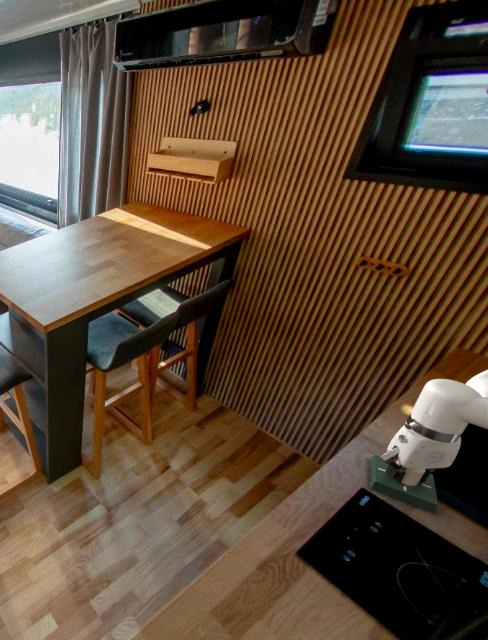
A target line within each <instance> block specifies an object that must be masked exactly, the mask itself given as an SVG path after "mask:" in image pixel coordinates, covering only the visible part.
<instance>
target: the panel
mask: <svg viewBox="0 0 488 640" xmlns="http://www.w3.org/2000/svg"><path fill="white" fill-rule="evenodd" d="M380 457H381V455H377V454H373V455H372V457H371V458H370V463H369V464H370V465H369V467H370V468H369V469H370V489H371V490H373V491H376V492H379V493H382V494H384V495H386V496H389V497H392V498H395V499H397V500H400V501H402V502H404V503H407V504H410V505H412V506H415V507H418V508H420V509H422V510H425V511H428V512H430V513H434V512H435V511H436V509H437V508H438V507H439V501H438V496H437V490H436V485H435V478H434V474H432V473H430V475H429V476H428V478H427V480H426V481H425V482H420V481H419V482H418V484H417V485H415V486H410V485H406V484H403V483H396V482H395V481H394V480H393V479H392V478H391V477H389V476H388V475H387V474H386V473H385V471H386V469H387V467H388V464H386V463H384V462H383V461H382V460H381V459H380Z"/></svg>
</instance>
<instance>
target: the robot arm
mask: <svg viewBox="0 0 488 640" xmlns="http://www.w3.org/2000/svg"><path fill="white" fill-rule="evenodd" d="M469 424H472V425H474V426H477V427H480V428H483V429H487V430H488V369H486V370H484V371H481V372H479V373H478V374H476V375H474V376H472V377H471V378H470V379H468V380H467V381H466V383H463V382H459V381H457V380H453V379H448V378H434V379H430V380H429V381H427V382H426V383H425V385H424V386H423V388H422V390H421V392H420V394H419V396H418V397H417V399H416V401H415V404H414V405H413V407H412V409H411V411H410V413H409V415H408V417H407V419H406V421H405V424H404V425H402V427H401V428H399V430H398V431H397V432H396V433H395V435H394V436H393V437H392V438H391V441H390V442H389V444H388V446H387V449H386V453H383V455H380V459H381V460H382V461H383V462H384V463H386V464H388V467H387V469H386V471H385V473H386V474H387V475H388V476H389V477H391V478H392V479H393V480H394V481H395V482H396V483H401V481H402V479H403V478H404V476H405V474H406V473H405V472H404V471H405V470H406V469H407V468H409V469H425V472H424V474H423V476H422V477H421V479H420V482H425V481H426V480H427V478H428V476H429V475H430V474H432V473H431V472H435V471H436V469H446V468H449V467H451V465H453V464H454V461H455V459H456V457H457V456H458V453H459V451H460V448H461V445H462V444H461V443H462V437H461V436H462V435H463V433H464V432H465V430H466V428H467V427H468V425H469ZM397 461H399V463H400V464H401V465H400V466H399V465H398V464H397V463H396V462H397Z"/></svg>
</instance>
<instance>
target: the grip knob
mask: <svg viewBox="0 0 488 640" xmlns="http://www.w3.org/2000/svg"><path fill="white" fill-rule="evenodd" d="M396 463H397V464H398V465H399V466H400V465H401V464H400V463H399V461H397V462H396ZM404 472H405V473H406V474H405V476H404V478H403V479H402V481H401V483H403V484H406V485H410V486H415V485H417V484H418V482H419V481H420V479H421V477H422V476H423V474H424V472H425V469H409V468H407V469H406V470H405V471H404Z"/></svg>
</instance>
